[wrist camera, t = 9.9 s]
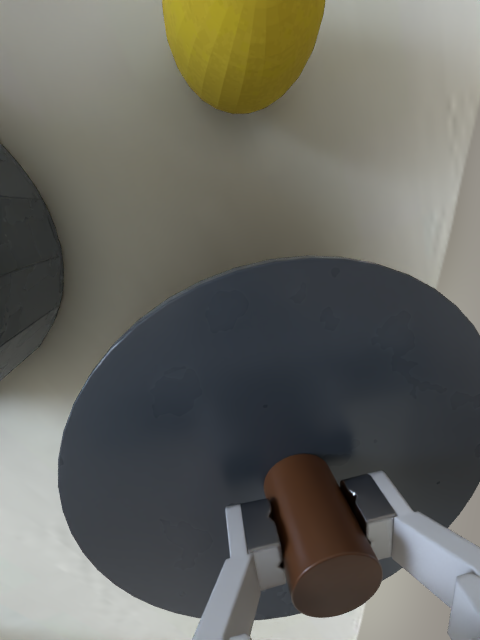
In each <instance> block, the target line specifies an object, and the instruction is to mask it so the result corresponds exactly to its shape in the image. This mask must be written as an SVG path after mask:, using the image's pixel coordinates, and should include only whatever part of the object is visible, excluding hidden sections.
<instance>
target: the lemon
mask: <svg viewBox="0 0 480 640" xmlns="http://www.w3.org/2000/svg"><path fill="white" fill-rule="evenodd" d="M162 5H163V15H164V21H165V28H166V35H167V40H168V43H169V46H170V49H171V51H172V54H173V57H174V60H175V62H176V65H177V67H178V69H179V71H180V72H181V74H182V76H183V77H184V79H185V80H186V82H187V84H188V85H189V87H190V88H191V89H192V90H193V91H194V92H195V93H196V94H197V95H198V96H199V97H200V98H201V99H202V100H203V101H204V102H206V103H208V104H209V105H211V106H213V107H214V108H216V109H218V110H221V111H225V112H228V113H232V114H248V113H251V112H255V111H258V110H261V109H264V108H266V107H267V106H269V105H270V104H272V103H273V102H275V101H276V100H278V99H279V98H280V97H282V96H283V95H284V94H285V92H286V91H287V90H288V89H289V88H290V87H291V86H292V84H293V83H294V82H295V81H296V80H297V79H298V77H299V76H300V74H301V72H302V70H303V68H304V66H305V65H306V63H307V61H308V59H309V57H310V55H311V53H312V51H313V48H314V46H315V43H316V39H317V35H318V32H319V28H320V25H321V21H322V17H323V13H324V7H325V0H163V1H162Z"/></svg>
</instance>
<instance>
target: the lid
mask: <svg viewBox="0 0 480 640" xmlns="http://www.w3.org/2000/svg"><path fill="white" fill-rule="evenodd" d="M377 471H383V472H385V473H386V475H387V476H388V478H389V479H390V480H391V482H392V483H393V484H394V486H395V487H396V488H397V490H398V491H399V492H400V494H401V495H402V496H403V498H404V499H405V500H406V502H407V503H408V504H409V506H410V507H411V508H412V510H413V511H414V512H417V511H419V512H421V513H422V514H424V515H426V516H427V517H429V518H431V519H433V520H434V521H436V522H438V523H439V524H441V525H443V526H445V527H446V528H448V527H449V525H451V523H452V522H453V521H454V520H455V519H456V518H457V516H458V515H459V514H460V512H461V511H462V510H463V508H464V507H465V505H466V504H467V502H468V501H469V500H470V498H471V497H472V495H473V493H474V491H475V490H476V488H477V486H478V484H479V482H480V335H479V334H478V332H477V330H476V329H475V327H474V325H473V324H472V323H471V322H470V321H469V320H468V318H467V317H466V316H465V315H464V314H463V313H462V312H461V311H460V309H459V308H458V307H457V306H456V305H454V304H453V303H452V302H451V301H449V300H448V299H447V298H446V297H445V296H443V295H442V294H441V293H440V292H438V291H437V290H436V289H434V288H432V287H431V286H429V285H427V284H425V283H423V282H421V281H419V280H418V279H416V278H414V277H412V276H410V275H408V274H405V273H402V272H399V271H396V270H394V269H391V268H388V267H385V266H382V265H379V264H376V263H372V262H366V261H361V260H355V259H350V258H344V257H331V256H298V257H288V258H278V259H270V260H266V261H261V262H257V263H253V264H249V265H245V266H240V267H236V268H233V269H231V270H228V271H225V272H223V273H220V274H217V275H215V276H212V277H210V278H207V279H204V280H202V281H200V282H198V283H196V284H194V285H192V286H190V287H188V288H187V289H185V290H183V291H181V292H179V293H177V294H175V295H174V296H172V297H170V298H168V299H167V300H165V301H164V302H162V303H161V304H160V305H158V306H157V307H156V308H154V309H153V310H151V311H150V312H149V313H147V314H146V315H144V316H143V317H142V318H140V319H139V320H138V321H137V322H136V323H135V324H134V325H133V326H132V327H131V328H130V329H128V330H127V331H126V332H125V333H124V334H123V335H122V336H121V337H120V338H119V339H118V340H117V341H116V342H115V343H114V344H113V345H112V346H111V348H110V349H109V350H108V352H107V353H106V354H105V355H104V357H103V358H102V359H101V360H100V362H99V363H98V364H97V366H96V367H95V368H94V369H93V371H92V372H91V374H90V376H89V377H88V379H87V381H86V383H85V384H84V386H83V388H82V390H81V392H80V393H79V395H78V397H77V399H76V400H75V402H74V404H73V407H72V409H71V412H70V415H69V418H68V420H67V423H66V426H65V429H64V431H63V436H62V442H61V447H60V453H59V458H58V488H59V493H60V499H61V504H62V509H63V513H64V515H65V518H66V521H67V523H68V526H69V529H70V531H71V533H72V535H73V537H74V538H75V540H76V542H77V543H78V545H79V547H80V548H81V550H82V552H83V553H84V554H85V556H86V557H87V558H88V559H89V560H90V561H91V563H92V564H93V565H94V566H95V567H96V568H97V570H98V571H100V572H101V573H102V574H103V575H104V576H105V577H107V578H108V579H109V580H110V581H111V582H112V583H114V584H115V585H116V586H118V587H120V588H121V589H123V590H124V591H126V592H127V593H129V594H131V595H132V596H134V597H136V598H138V599H140V600H142V601H144V602H146V603H149V604H151V605H153V606H156V607H159V608H162V609H165V610H168V611H171V612H174V613H177V614H182V615H186V616H191V617H196V618H201V617H202V615H203V613H204V610H205V608H206V606H207V603H208V601H209V598H210V596H211V594H212V591H213V589H214V586H215V584H216V582H217V579H218V577H219V575H220V572H221V570H222V567H223V565H224V563H225V560H226V559H229V558H230V550H229V541H228V531H227V521H226V507H228V506H232V505H237V504H240V505H241V503H246V502H251V501H256V500H261V499H266V498H269V501H270V505H271V509H272V515H273V521H274V522H275V524H276V528H277V532H278V536H279V540H280V544H281V550H282V556H283V560H282V564H283V568H284V572H285V578H286V584H283V585H279V586H276V587H273V588H269V589H266V590H262V591H260V592H261V594H260V598H259V602H258V606H257V610H256V614H255V618H254V620H265V619H272V618H279V617H286V616H291V615H295V614H300V613H303V614H305V615H307V616H311V617H318V618H324V617H333V616H338V615H341V614H344V613H347V612H349V611H352V610H354V609H356V608H357V607H359V606H361V605H362V604H364V603H365V602H366V601H367V600H369V599H370V598H371V597H372V596H373V595H374V593H375V592H376V591H377V589H378V588H379V586H380V584H381V581H383V580H384V579H386V578H388V577H389V576H391V575H393V574H394V573H396V572H397V571H398V570H400V569H401V568H403V567H402V566H400V565H399V564H398V563H397V562H396V561H395V560H393V559H392V557H388V558H384V559H380V560H378V559H377V557H376V555H375V553H374V551H373V549H372V547H371V546H370V544H369V542H368V540H367V538H366V536H365V534H364V532H363V530H362V529H361V527H360V525H359V523H358V521H357V519H356V517H355V515H354V513H353V512H352V510H351V508H350V506H349V504H348V502H347V500H346V498H345V496H344V495H343V493H342V491H341V489H340V481H341V480H343V479H347V478H351V477H355V476H359V475H363V474H369V473H373V472H377Z"/></svg>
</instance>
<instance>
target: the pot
mask: <svg viewBox="0 0 480 640" xmlns="http://www.w3.org/2000/svg"><path fill="white" fill-rule="evenodd" d="M62 290H63V260H62V253H61V247H60V243H59V239H58V236H57V232H56V228H55V226H54V223H53V221H52V219H51V216H50V214H49V211H48V209H47V207H46V205H45V203H44V201H43V199H42V198H41V196H40V194H39V192H38V190H37V189H36V187H35V185H34V184H33V183H32V181H31V180H30V178H29V177H28V176H27V174H26V173H25V171H24V170H23V169H22V167H21V166H20V165H19V164H18V162H17V161H16V160H15V159H14V158H13V157H12V156H11V154H10V153H9V152H8V151H7V150H6V149H5V148H4V146H2V145H1V144H0V380H2V379H3V378H4V377H5V376H6V375H7V374H8V373H10V372H11V371H12V370H13V369H14V368H15V367H16V366H18V365H19V364H20V363H21V362H22V361H23V360H24V359H26V358H27V357H28V356H29V355H30V354H31V353H32V352H33V351H35V350H36V349H37V348H38V347H39V346H40V345H41V343H42V341H43V339H44V337H45V336H46V335H47V333H48V332H49V330H50V328H51V326H52V324H53V322H54V320H55V318H56V315H57V312H58V309H59V306H60V303H61V297H62Z"/></svg>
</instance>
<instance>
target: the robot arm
mask: <svg viewBox="0 0 480 640" xmlns="http://www.w3.org/2000/svg"><path fill="white" fill-rule="evenodd" d="M340 489H341V491H342V493H343V495H344V496H345V498H346V500H347V502H348V504H349V506H350V508H351V510H352V512H353V513H354V515H355V517H356V519H357V521H358V523H359V525H360V527H361V529H362V530H363V532H364V534H365V536H366V538H367V540H368V542H369V544H370V546H371V547H372V549H373V551H374V553H375V555H376V557H377V559H378V560H380V559H384V558H388V557H392V559H393V560H395V561H396V562H397V563H398V564H399V565H400V566H402V567H403V568H404V569H405V570H406V571H408V572H409V573H410V574H411V575H412V576H413V577H415V578H416V579H417V580H418V581H419V582H420V583H422V584H423V585H424V586H425V587H426V588H428V589H429V590H430V591H431V592H432V593H433V594H435V595H436V596H437V597H438V598H439V599H440V600H442V601H443V602H444V603H445V604H446V605H447V606H449V607H450V608H451V614H450V620H449V626H448V632H447V633H448V635H449V636H450V638H451V640H480V547H479V546H477V545H475V544H473V543H472V542H470V541H468V540H466V539H465V538H463V537H462V536H460V535H458V534H456V533H454V532H453V531H451V530H449V529H448V528H446V527H445V526H443V525H441V524H439V523H438V522H436V521H434V520H433V519H431V518H429V517H427V516H426V515H424V514H422V513H421V512H419V511H417V512H414V511H413V510H412V508H411V507H410V506H409V504H408V503H407V502H406V500H405V499H404V498H403V496H402V495H401V494H400V492H399V491H398V490H397V488H396V487H395V486H394V484H393V483H392V482H391V480H390V479H389V478H388V476H387V475H386V473H385V472H383V471H377V472H373V473H369V474H363V475H359V476H355V477H351V478H347V479H343V480H341V481H340ZM226 521H227V531H228V541H229V550H230V558H229V559H226V560H225V563H224V565H223V567H222V570H221V572H220V575H219V577H218V579H217V582H216V584H215V586H214V589H213V591H212V594H211V596H210V598H209V601H208V603H207V606H206V608H205V610H204V613H203V615H202V617H201V620H200V622H199V625H198V627H197V629H196V632H195V634H194V636H193V639H192V640H252V639H251V638H250V634H251V630H252V626H253V622H254V618H255V614H256V610H257V606H258V602H259V598H260V594H261V592H260V591H262V590H266V589H269V588H273V587H276V586H279V585H283V584H286V578H285V572H284V568H283V564H282V560H283V556H282V550H281V544H280V540H279V536H278V532H277V528H276V524H275V522H274V521H273V515H272V509H271V505H270V501H269V498H266V499H261V500H256V501H251V502H246V503H241V505H240V504H237V505H232V506H228V507H226Z"/></svg>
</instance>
